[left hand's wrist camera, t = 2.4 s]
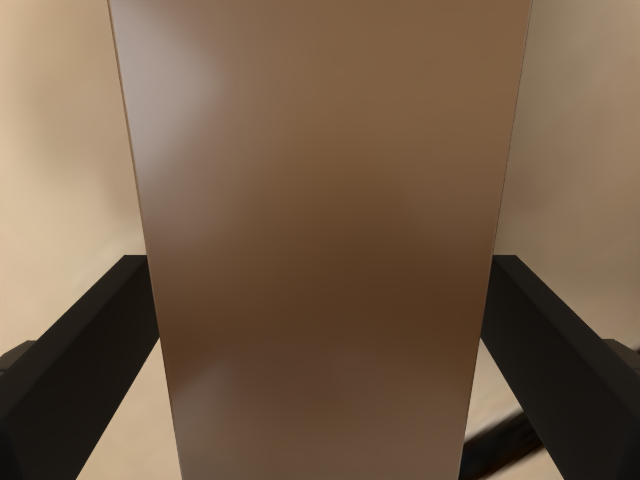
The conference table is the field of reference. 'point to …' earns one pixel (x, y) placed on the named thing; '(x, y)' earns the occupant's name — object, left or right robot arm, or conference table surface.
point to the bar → (319, 222)
